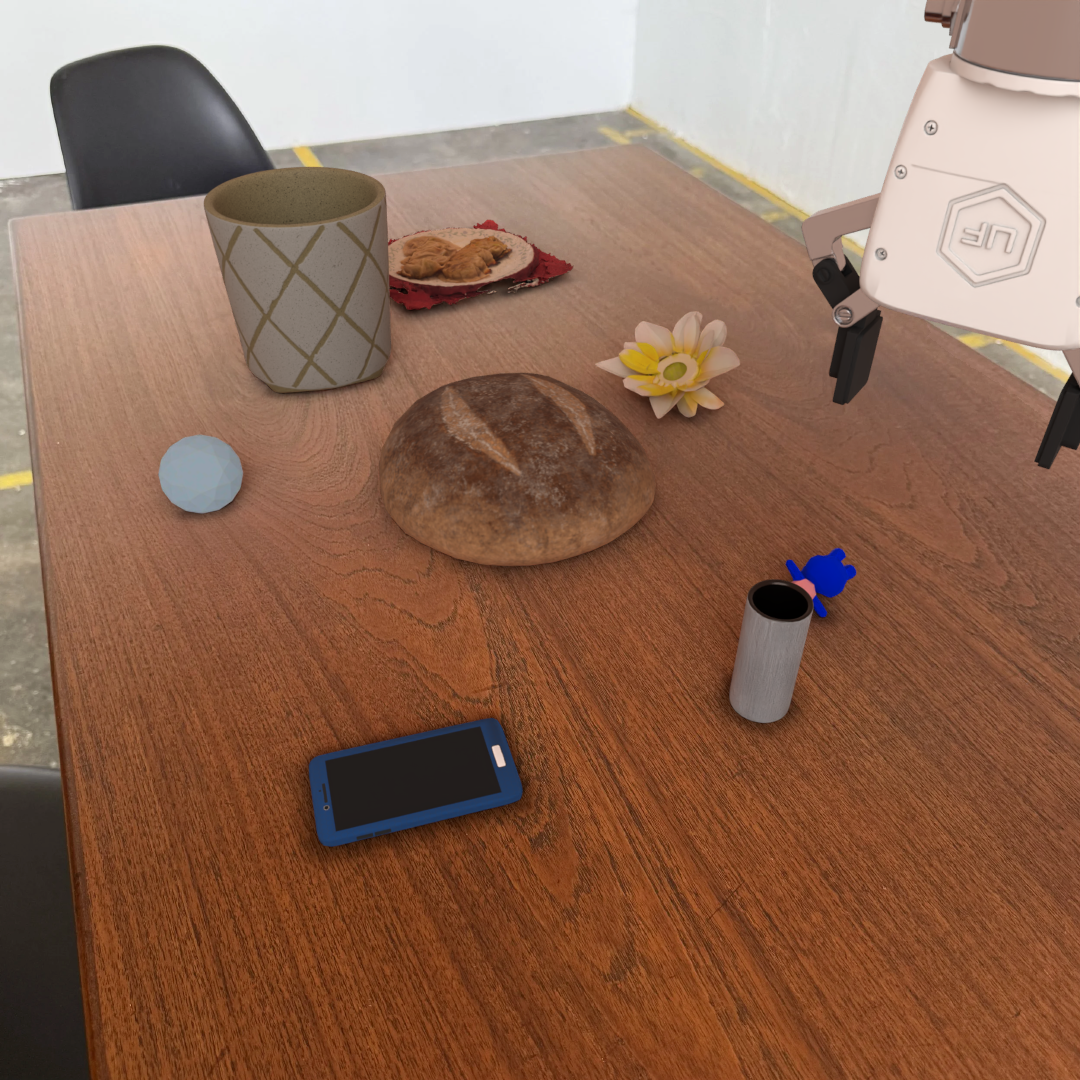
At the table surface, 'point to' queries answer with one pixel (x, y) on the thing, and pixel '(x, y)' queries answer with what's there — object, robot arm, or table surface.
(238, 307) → the planter
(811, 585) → the figurine
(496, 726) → the cell phone
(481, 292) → the plate with food
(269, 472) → the table surface
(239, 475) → the gemstone
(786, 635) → the planter
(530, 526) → the bread
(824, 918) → the table surface
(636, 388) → the decorative flower
